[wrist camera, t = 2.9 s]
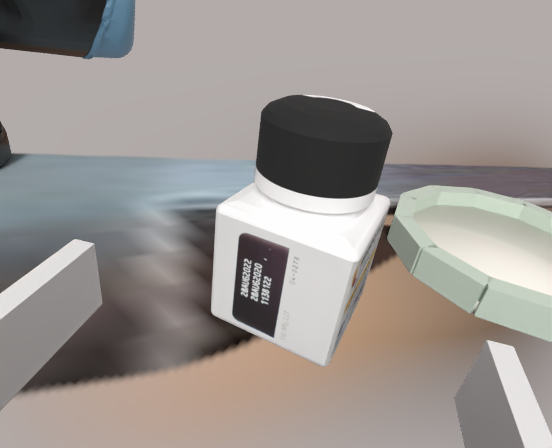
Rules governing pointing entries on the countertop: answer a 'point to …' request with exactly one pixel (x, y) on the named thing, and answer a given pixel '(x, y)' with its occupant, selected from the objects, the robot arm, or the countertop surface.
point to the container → (303, 225)
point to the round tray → (480, 253)
